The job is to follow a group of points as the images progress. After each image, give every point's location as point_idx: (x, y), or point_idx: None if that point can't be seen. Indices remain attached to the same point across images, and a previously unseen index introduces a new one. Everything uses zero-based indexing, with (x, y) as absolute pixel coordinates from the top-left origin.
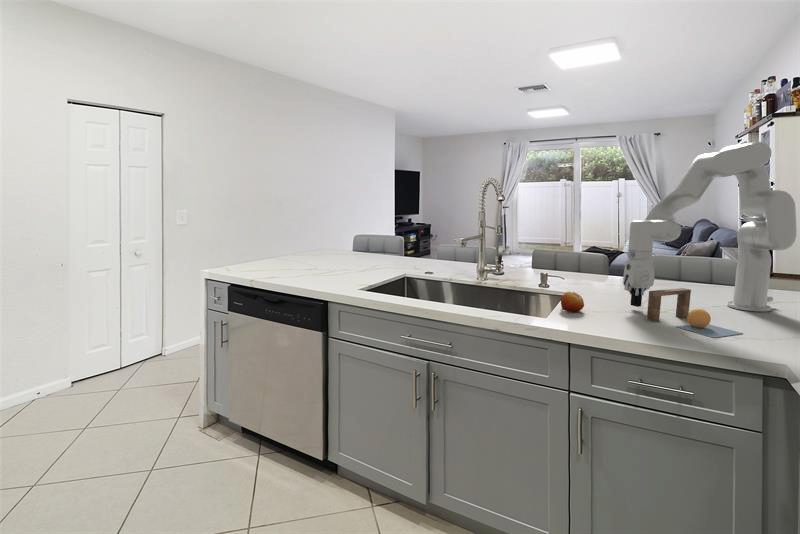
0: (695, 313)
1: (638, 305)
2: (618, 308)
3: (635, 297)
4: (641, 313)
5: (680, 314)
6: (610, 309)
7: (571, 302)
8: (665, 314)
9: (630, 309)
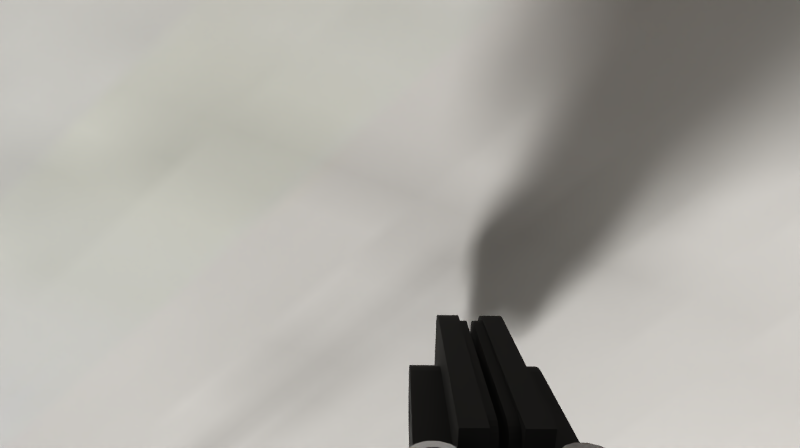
0: None
1: (493, 320)
2: None
3: (567, 440)
4: (543, 185)
5: None
6: (694, 435)
7: None
8: (289, 26)
9: None
